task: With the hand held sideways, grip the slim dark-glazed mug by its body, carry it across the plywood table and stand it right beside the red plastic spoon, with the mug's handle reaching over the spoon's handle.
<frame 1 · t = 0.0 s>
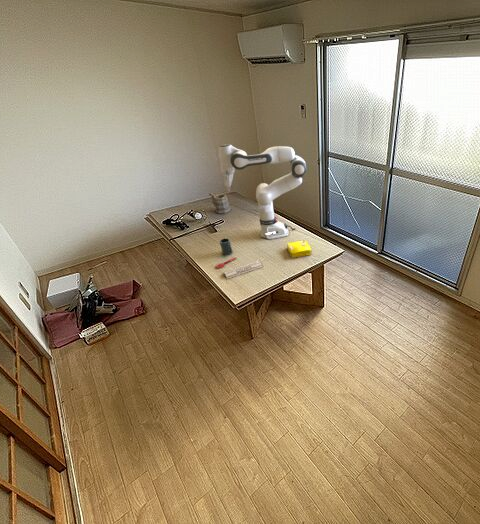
hand: (229, 188, 200), 39 cm above the table, tool pointing down, fingers open, 8 cm apart
mug: (227, 252, 202), on the table
newspaper: (243, 270, 185), on the table
spoon: (227, 262, 192), on the table
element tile: (299, 251, 204), on the table
tankard: (220, 209, 265), on the table
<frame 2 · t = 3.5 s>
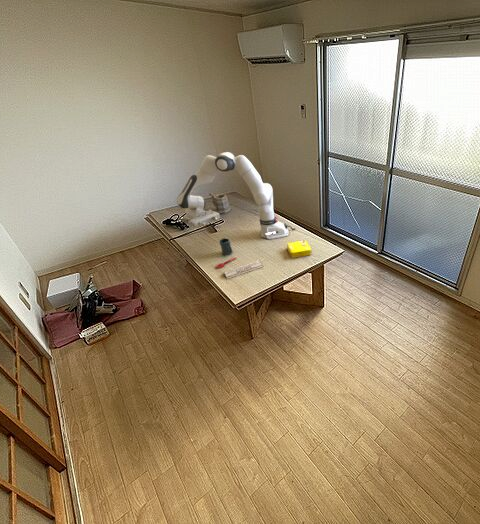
hand: (211, 222, 197), 20 cm above the table, tool horizontal, fingers open, 8 cm apart
nothing on the table moved.
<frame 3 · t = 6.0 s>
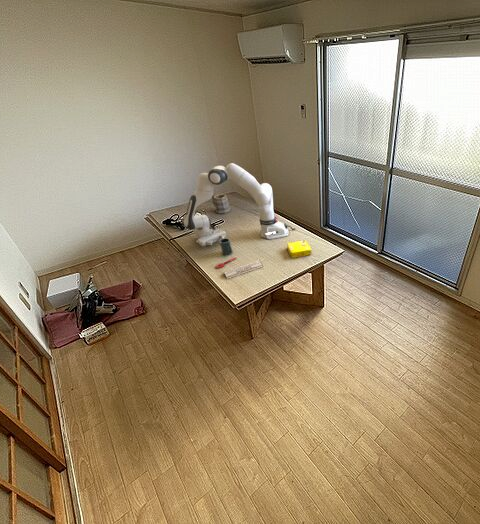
hand: (218, 241, 204), 6 cm above the table, tool horizontal, fingers open, 8 cm apart
nothing on the table moved.
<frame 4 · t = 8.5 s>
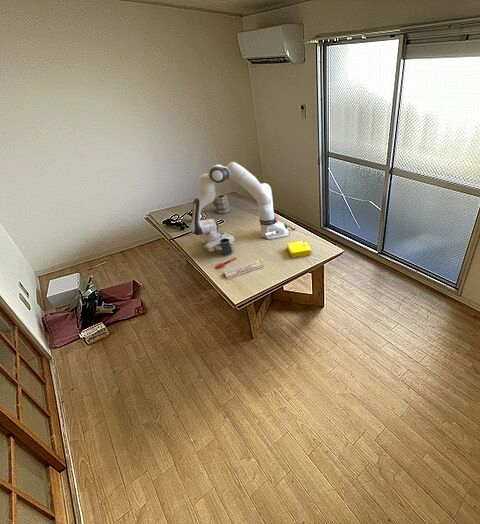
hand: (226, 246, 199), 6 cm above the table, tool horizontal, fingers closed on mug, 7 cm apart
mug: (227, 252, 202), on the table, touching gripper
everything else where it was.
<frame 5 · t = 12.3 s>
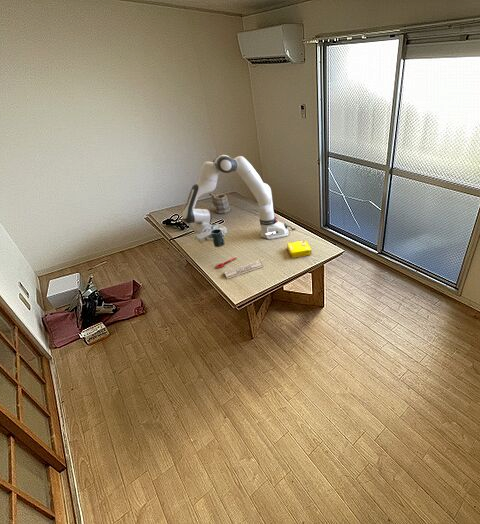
hand: (218, 237, 187), 17 cm above the table, tool horizontal, fingers closed on mug, 7 cm apart
mug: (219, 244, 190), point 11 cm above the table, touching gripper
everything else where it was.
when the fingers open (5 cm above the table, at t = 16.1 s): mug stays where it is, on the table.
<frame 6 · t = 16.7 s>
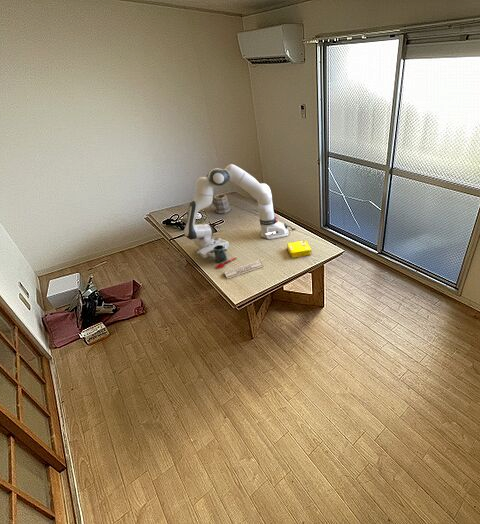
hand: (220, 252, 191), 6 cm above the table, tool horizontal, fingers open, 8 cm apart
mug: (221, 259, 195), on the table
everything else where it was.
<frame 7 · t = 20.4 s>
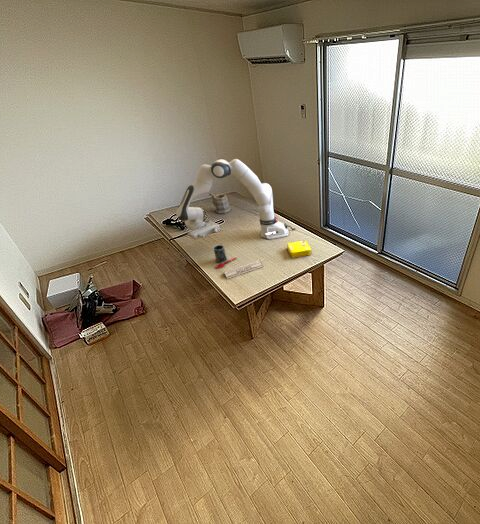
hand: (210, 234, 196), 14 cm above the table, tool horizontal, fingers open, 8 cm apart
nothing on the table moved.
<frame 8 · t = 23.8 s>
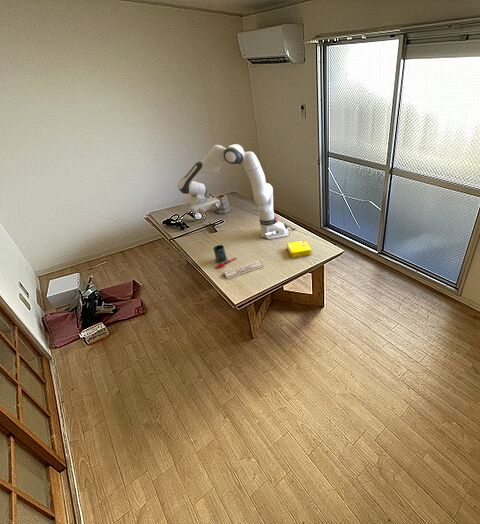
hand: (211, 208, 193), 30 cm above the table, tool horizontal, fingers open, 8 cm apart
nothing on the table moved.
at the end: mug 0.2 cm from the target spot on the table beside the spoon, on the table; mug tilted 0°; mug moved 9.5 cm from its start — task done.
